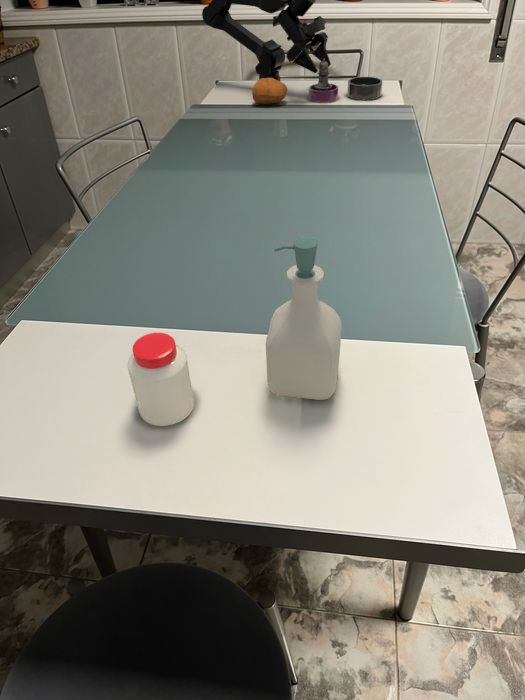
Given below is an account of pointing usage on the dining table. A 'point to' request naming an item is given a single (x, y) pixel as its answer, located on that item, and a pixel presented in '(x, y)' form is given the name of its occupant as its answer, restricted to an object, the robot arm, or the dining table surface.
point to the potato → (269, 91)
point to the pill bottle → (160, 380)
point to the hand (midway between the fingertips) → (323, 68)
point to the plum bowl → (323, 94)
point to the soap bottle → (303, 333)
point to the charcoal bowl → (364, 88)
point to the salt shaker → (323, 77)
